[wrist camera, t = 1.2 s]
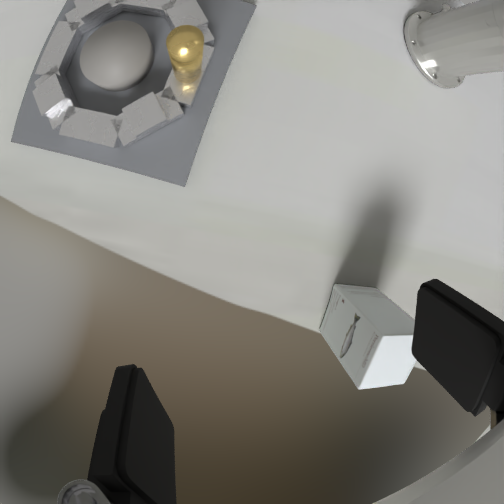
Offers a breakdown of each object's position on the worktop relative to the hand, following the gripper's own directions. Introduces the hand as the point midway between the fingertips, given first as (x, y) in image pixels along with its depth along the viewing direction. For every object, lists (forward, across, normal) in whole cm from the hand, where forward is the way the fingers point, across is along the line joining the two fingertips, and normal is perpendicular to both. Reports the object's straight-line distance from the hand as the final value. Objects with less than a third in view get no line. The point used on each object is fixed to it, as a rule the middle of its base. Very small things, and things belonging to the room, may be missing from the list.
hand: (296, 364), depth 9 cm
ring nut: (+24, +7, -19) cm, 31 cm away
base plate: (+25, +7, -19) cm, 32 cm away
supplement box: (+26, -14, +17) cm, 34 cm away
